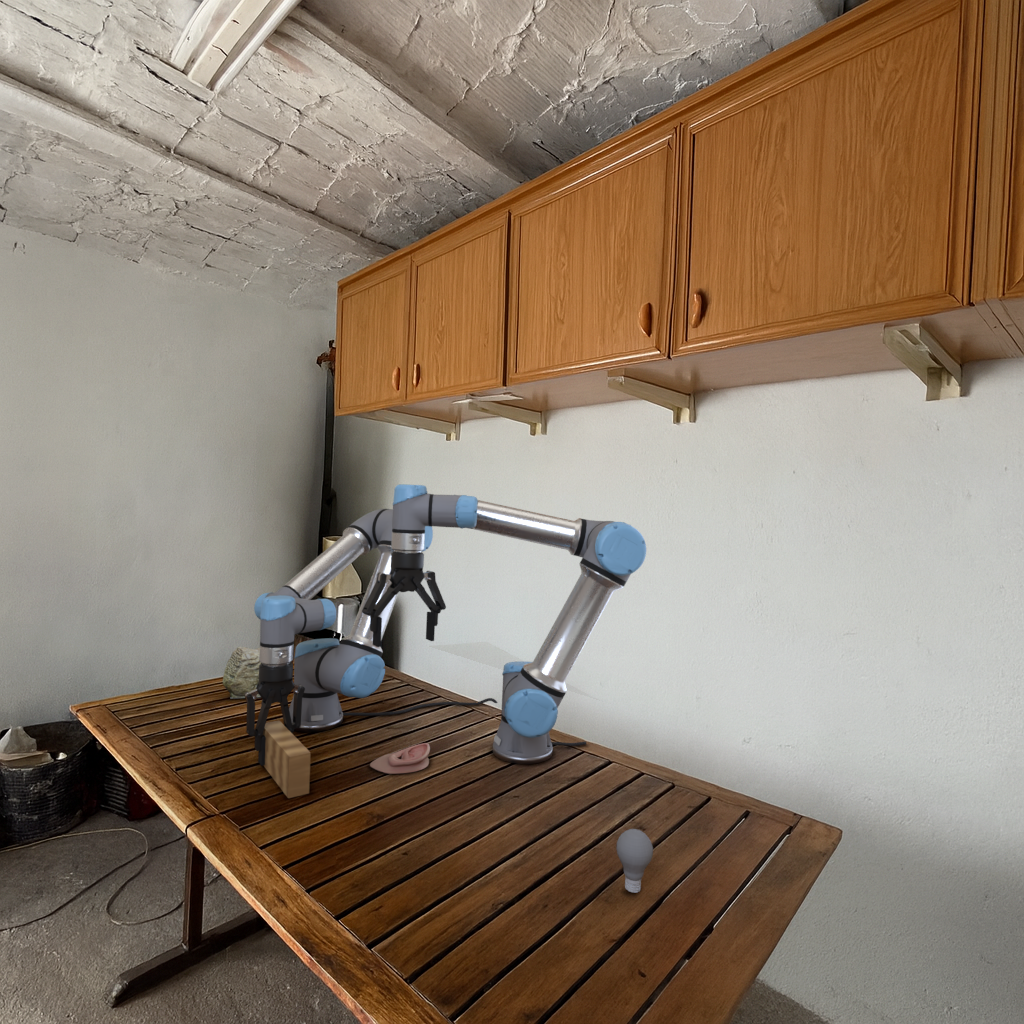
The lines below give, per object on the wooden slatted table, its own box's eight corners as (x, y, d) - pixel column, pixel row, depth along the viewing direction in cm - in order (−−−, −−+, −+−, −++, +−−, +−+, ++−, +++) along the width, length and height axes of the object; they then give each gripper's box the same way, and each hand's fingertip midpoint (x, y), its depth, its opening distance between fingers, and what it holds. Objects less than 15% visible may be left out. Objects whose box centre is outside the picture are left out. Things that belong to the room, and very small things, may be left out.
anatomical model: (364, 753, 147) (384, 735, 158) (364, 770, 147) (383, 751, 158) (419, 760, 144) (435, 742, 155) (418, 778, 144) (434, 758, 156)
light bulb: (610, 879, 108) (613, 822, 108) (644, 879, 109) (647, 822, 109) (619, 902, 102) (622, 840, 102) (655, 901, 103) (658, 840, 103)
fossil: (218, 695, 195) (220, 647, 195) (278, 685, 208) (279, 640, 207) (228, 703, 189) (230, 653, 188) (289, 692, 201) (290, 645, 201)
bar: (259, 760, 150) (260, 723, 150) (278, 756, 153) (279, 720, 153) (288, 798, 132) (289, 756, 132) (309, 793, 135) (310, 752, 135)
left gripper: (240, 671, 140) (237, 775, 141) (318, 661, 151) (315, 758, 151) (232, 663, 146) (229, 763, 147) (308, 654, 157) (304, 748, 157)
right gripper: (363, 553, 136) (359, 652, 136) (462, 552, 150) (458, 640, 151) (349, 550, 142) (346, 644, 142) (446, 549, 157) (442, 634, 157)
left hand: (272, 760), depth 149 cm, fingers closed on bar, 4 cm apart
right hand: (404, 642), depth 146 cm, fingers open, 13 cm apart
